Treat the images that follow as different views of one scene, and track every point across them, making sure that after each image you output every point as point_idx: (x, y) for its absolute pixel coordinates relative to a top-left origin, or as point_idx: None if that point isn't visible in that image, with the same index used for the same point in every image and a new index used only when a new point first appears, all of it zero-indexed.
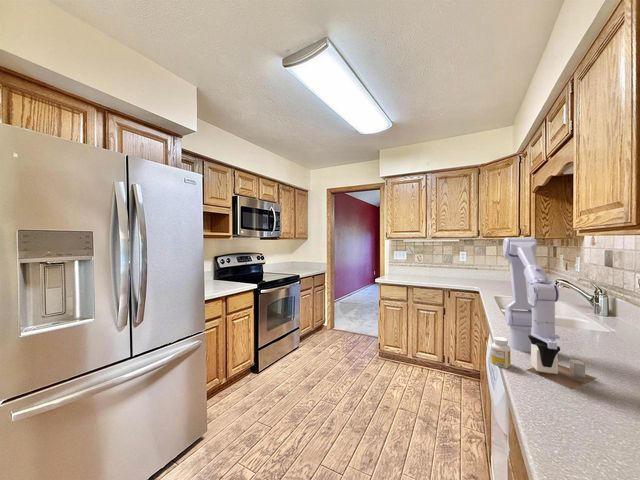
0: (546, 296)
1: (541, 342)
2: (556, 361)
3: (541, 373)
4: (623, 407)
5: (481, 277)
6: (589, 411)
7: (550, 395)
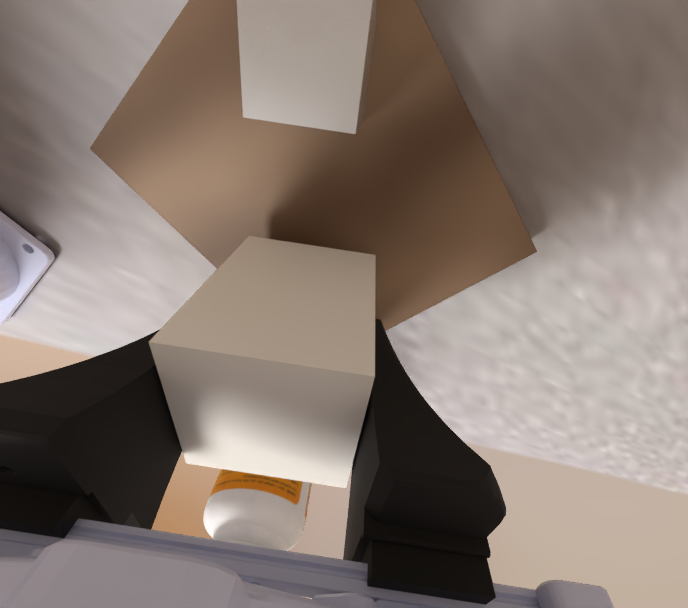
0: None
1: (144, 436)
2: (372, 314)
3: None
4: None
5: None
6: None
7: (543, 355)
